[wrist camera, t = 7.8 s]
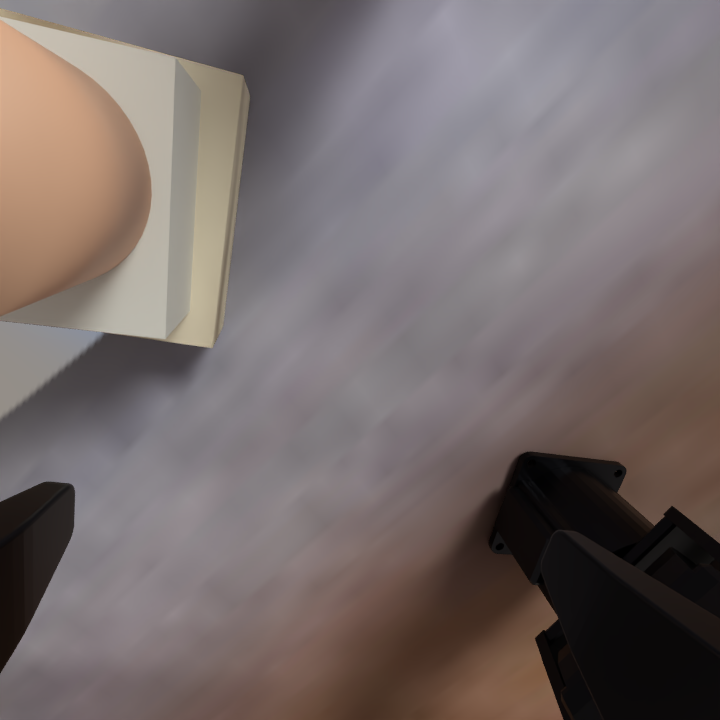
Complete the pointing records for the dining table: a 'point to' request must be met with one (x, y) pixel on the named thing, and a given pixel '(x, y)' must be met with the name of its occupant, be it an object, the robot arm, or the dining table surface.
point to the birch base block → (205, 189)
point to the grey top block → (168, 183)
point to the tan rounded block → (62, 175)
